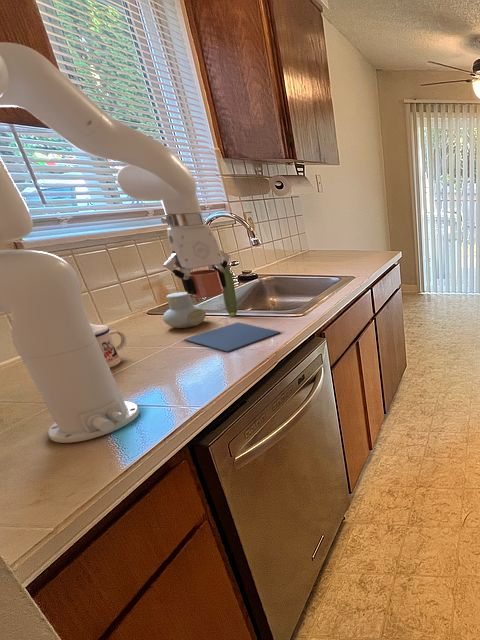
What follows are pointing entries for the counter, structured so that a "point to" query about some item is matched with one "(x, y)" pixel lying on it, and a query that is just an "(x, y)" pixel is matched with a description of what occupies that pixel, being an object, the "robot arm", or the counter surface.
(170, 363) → the counter surface
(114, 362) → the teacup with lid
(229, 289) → the vegetable
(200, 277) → the terracotta flower pot
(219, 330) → the mat
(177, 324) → the air freshener
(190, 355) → the counter surface
